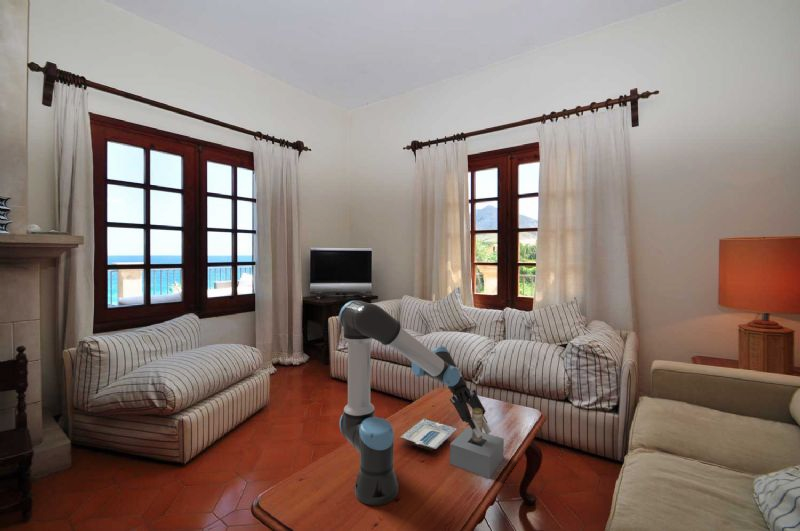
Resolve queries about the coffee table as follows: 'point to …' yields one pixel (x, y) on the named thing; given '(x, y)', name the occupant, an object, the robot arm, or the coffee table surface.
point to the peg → (478, 418)
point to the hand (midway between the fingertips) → (484, 434)
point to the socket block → (477, 453)
